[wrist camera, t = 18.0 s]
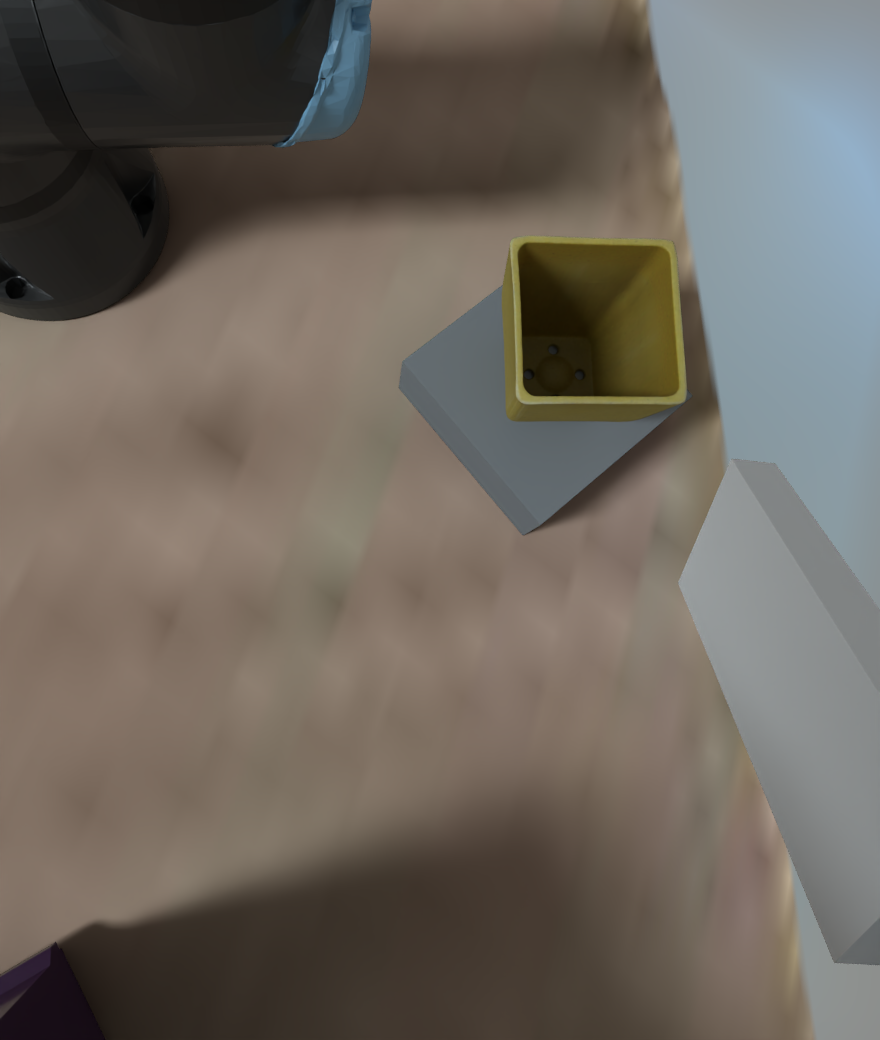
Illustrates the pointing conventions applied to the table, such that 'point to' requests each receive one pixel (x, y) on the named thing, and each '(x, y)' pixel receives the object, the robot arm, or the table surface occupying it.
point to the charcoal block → (508, 421)
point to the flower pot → (592, 329)
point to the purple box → (45, 1001)
